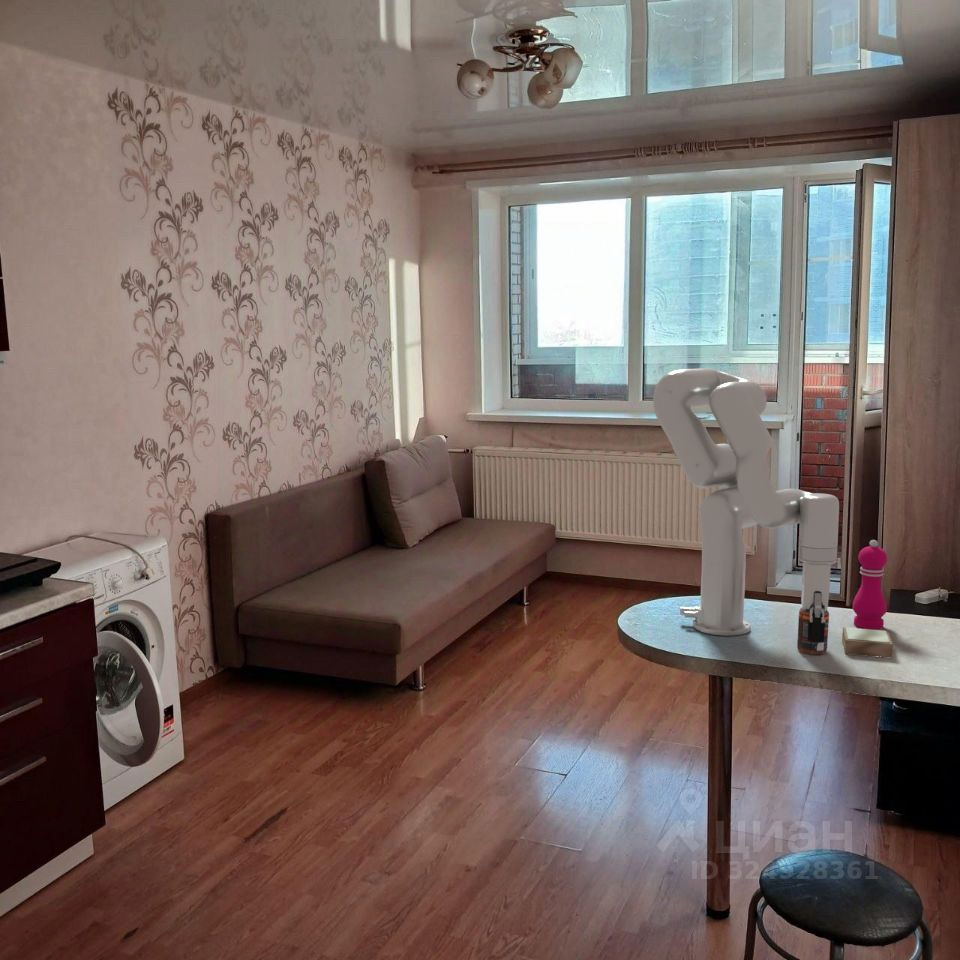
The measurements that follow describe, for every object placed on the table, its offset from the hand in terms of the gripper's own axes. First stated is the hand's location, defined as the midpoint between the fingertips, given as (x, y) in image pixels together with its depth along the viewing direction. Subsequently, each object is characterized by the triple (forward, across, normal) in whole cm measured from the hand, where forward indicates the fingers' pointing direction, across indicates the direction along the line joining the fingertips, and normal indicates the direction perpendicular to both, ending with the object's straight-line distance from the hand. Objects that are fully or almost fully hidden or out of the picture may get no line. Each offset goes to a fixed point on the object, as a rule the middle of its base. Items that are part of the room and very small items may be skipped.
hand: (814, 634), depth 201 cm
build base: (+4, -5, +11) cm, 12 cm away
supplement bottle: (+4, 0, 0) cm, 4 cm away
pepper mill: (+4, -22, +13) cm, 26 cm away
